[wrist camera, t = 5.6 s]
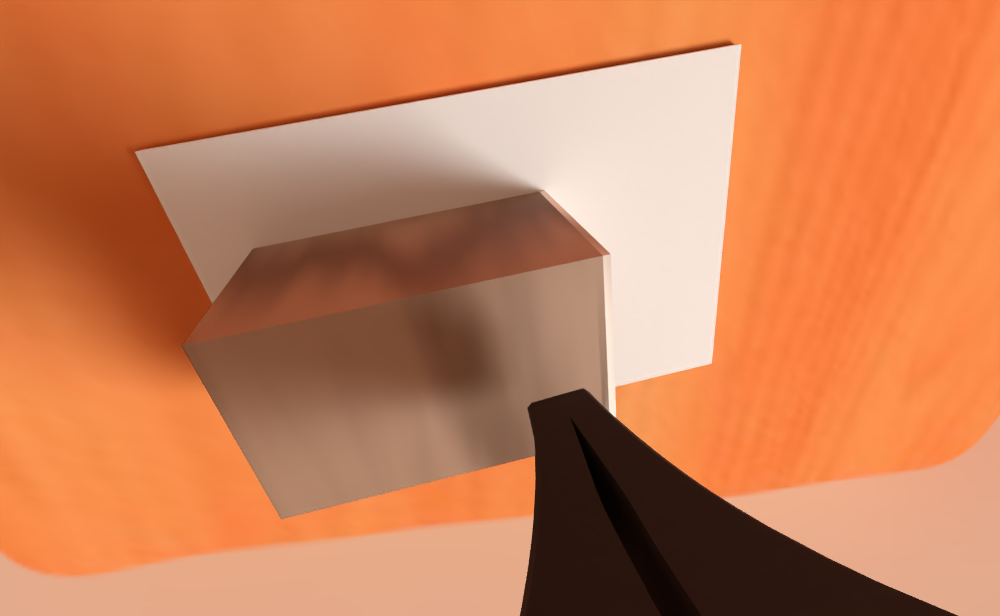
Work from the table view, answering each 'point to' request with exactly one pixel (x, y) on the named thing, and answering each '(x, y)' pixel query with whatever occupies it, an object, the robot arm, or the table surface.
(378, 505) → the table surface
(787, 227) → the table surface
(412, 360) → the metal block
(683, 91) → the mat
